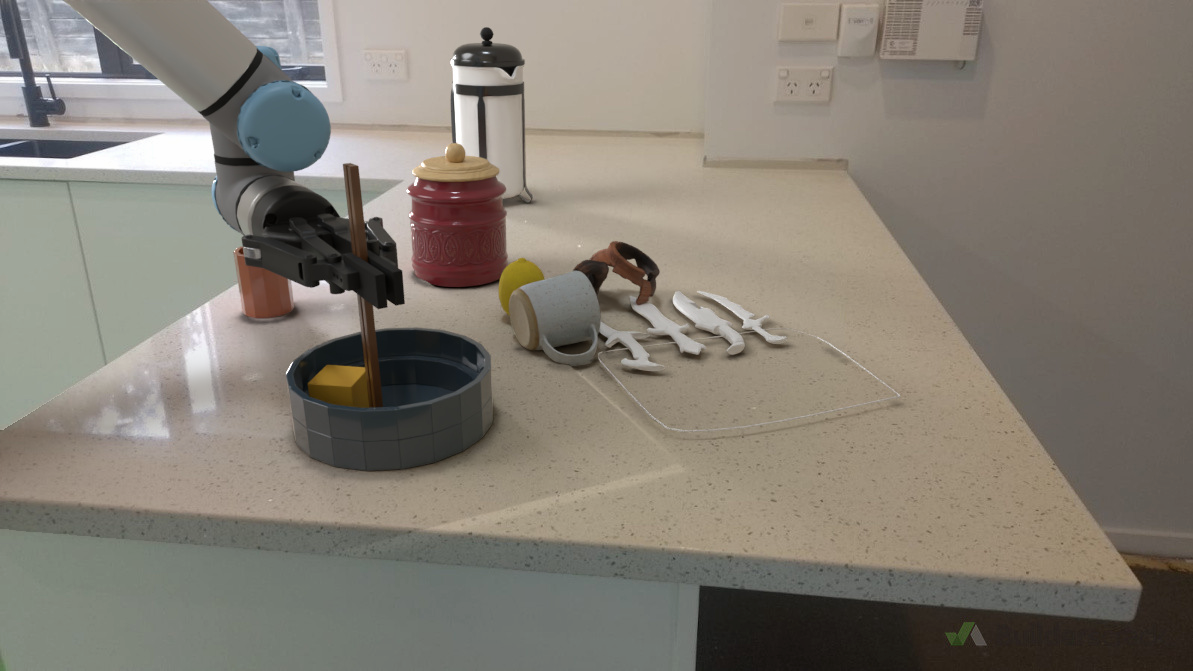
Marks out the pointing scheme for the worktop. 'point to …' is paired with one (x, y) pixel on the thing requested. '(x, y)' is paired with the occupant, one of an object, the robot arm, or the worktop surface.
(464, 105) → the coffee press
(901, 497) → the worktop surface
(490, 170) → the kitchen canister
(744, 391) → the worktop surface
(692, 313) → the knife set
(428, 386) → the bowl
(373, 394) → the chopsticks
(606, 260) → the broken clay pot
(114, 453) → the worktop surface
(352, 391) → the block
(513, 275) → the lemon
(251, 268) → the holder
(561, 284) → the ceramic mug
